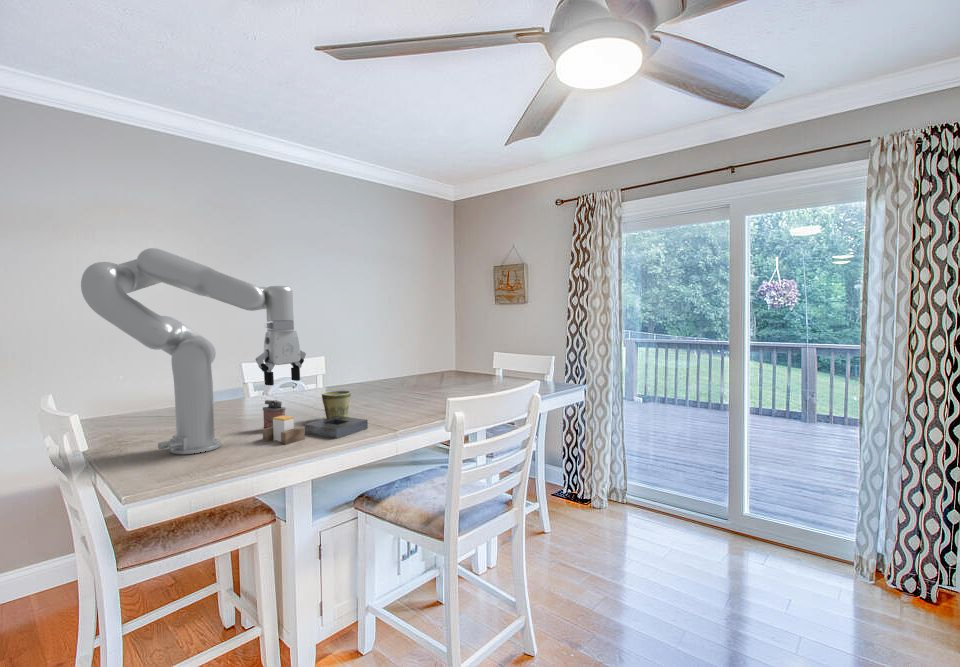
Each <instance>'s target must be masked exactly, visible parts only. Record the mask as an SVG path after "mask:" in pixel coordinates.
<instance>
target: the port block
mask: <svg viewBox="0 0 960 667" xmlns="http://www.w3.org/2000/svg"><path fill="white" fill-rule="evenodd" d="M368 421H369V420H368V419H363V418H357V417H349V416H347V417H343V416H334V417H330V418H324V419H323V418H322V419H320V420H319V419H318V420H315V421H312V422H309V423H308V422H307V423H304V427H303V428H304V431H305V434H306V435H310V436H317V437H324V438H330V439H335V438H336V440H337V439H340V437H341V438H343V436H344V437H346V436H350V435H353V434H355V433H359V432H361V431H364V430H368V428H369V426H368Z"/></svg>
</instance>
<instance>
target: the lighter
mask: <svg viewBox="0 0 960 667" xmlns="http://www.w3.org/2000/svg"><path fill="white" fill-rule="evenodd" d="M264 405H267V406H263V407H262V412H263V429H265V428H269V427H273V418H274V417H278V416H282V415H283V416H286V407H284V406H283V402H282V401H279V400H278V399H274V400H271V399H266V400H264ZM263 429H262V430H263Z"/></svg>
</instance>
